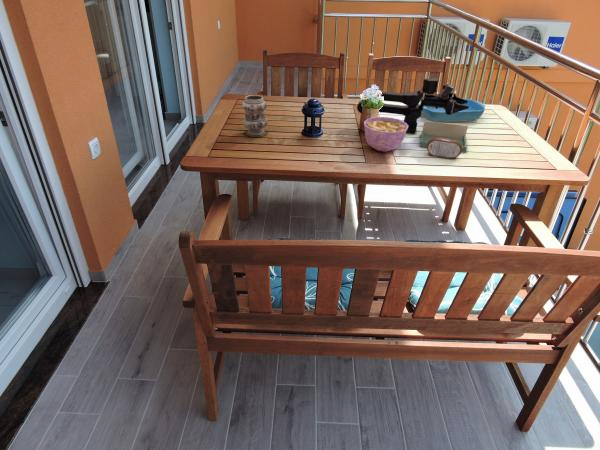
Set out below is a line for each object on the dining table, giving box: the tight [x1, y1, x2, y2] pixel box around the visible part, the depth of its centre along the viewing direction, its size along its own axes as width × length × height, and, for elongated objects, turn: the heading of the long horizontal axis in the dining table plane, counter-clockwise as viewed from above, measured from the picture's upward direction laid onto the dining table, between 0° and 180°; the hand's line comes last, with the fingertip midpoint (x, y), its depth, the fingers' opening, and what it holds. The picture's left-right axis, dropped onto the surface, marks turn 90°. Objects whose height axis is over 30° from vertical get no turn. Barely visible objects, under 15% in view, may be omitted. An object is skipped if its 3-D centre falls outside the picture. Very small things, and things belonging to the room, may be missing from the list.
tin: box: [426, 137, 462, 159], centre depth 186 cm, size 15×3×8 cm, turn 71°
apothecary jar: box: [241, 94, 269, 138], centre depth 203 cm, size 12×12×18 cm
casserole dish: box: [419, 97, 486, 123], centre depth 232 cm, size 37×22×7 cm, turn 97°
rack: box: [419, 120, 469, 153], centre depth 200 cm, size 21×16×8 cm
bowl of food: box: [363, 116, 408, 153], centre depth 192 cm, size 20×20×12 cm
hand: (468, 104), depth 199 cm, fingers open, 9 cm apart
